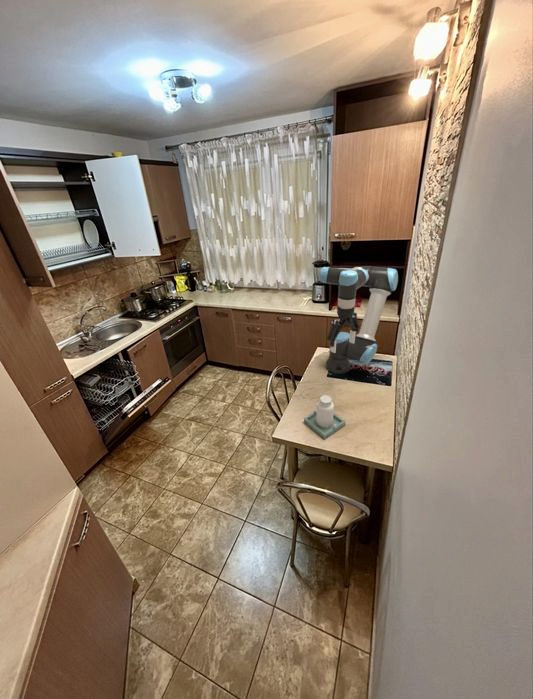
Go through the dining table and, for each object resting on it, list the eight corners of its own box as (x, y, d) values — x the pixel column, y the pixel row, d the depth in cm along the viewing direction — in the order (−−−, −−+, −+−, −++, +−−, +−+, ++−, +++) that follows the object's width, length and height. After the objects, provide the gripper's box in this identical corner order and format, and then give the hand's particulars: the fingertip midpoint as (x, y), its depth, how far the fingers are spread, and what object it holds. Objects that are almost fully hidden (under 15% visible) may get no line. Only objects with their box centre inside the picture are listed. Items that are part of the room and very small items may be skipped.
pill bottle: (322, 430, 131) (323, 406, 123) (313, 419, 137) (313, 396, 130) (336, 425, 133) (338, 401, 126) (326, 414, 140) (328, 391, 132)
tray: (323, 409, 144) (324, 402, 142) (345, 425, 134) (346, 418, 131) (303, 422, 137) (303, 415, 135) (324, 439, 127) (325, 432, 125)
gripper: (357, 297, 134) (353, 336, 144) (320, 311, 122) (318, 352, 132) (370, 301, 128) (365, 341, 139) (333, 316, 116) (330, 359, 127)
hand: (342, 347), depth 136 cm, fingers open, 13 cm apart
